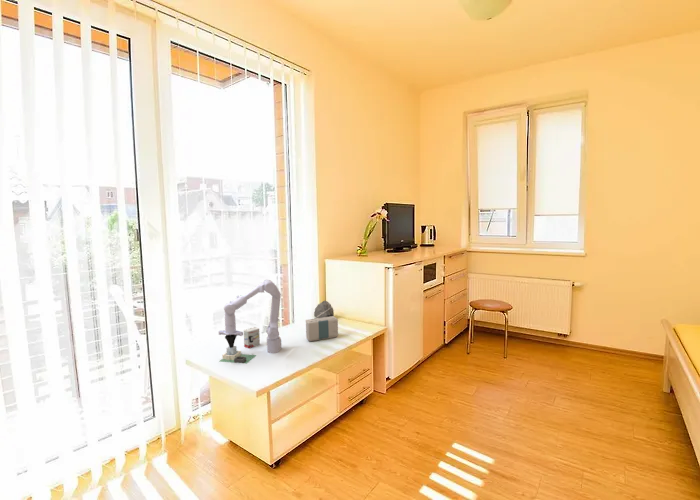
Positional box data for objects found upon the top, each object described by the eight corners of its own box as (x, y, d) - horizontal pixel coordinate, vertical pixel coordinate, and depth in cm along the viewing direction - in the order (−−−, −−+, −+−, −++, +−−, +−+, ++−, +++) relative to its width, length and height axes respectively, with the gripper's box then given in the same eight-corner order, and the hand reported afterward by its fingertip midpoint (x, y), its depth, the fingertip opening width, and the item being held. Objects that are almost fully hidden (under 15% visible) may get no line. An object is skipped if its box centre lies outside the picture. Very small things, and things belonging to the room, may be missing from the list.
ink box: (248, 350, 223) (247, 331, 222) (244, 348, 226) (243, 330, 225) (260, 346, 229) (259, 328, 228) (256, 344, 232) (255, 326, 231)
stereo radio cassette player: (308, 342, 234) (308, 312, 232) (305, 338, 241) (304, 309, 239) (338, 337, 242) (338, 308, 240) (334, 334, 250) (333, 305, 248)
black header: (234, 362, 202) (234, 359, 202) (237, 359, 205) (237, 356, 205) (243, 363, 201) (242, 359, 200) (246, 360, 204) (246, 357, 204)
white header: (229, 354, 214) (229, 350, 214) (241, 354, 212) (241, 350, 212) (222, 359, 206) (221, 355, 206) (234, 360, 204) (233, 356, 204)
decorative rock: (334, 319, 285) (334, 300, 284) (330, 321, 279) (330, 302, 278) (317, 316, 293) (317, 298, 291) (312, 318, 287) (312, 300, 285)
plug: (230, 355, 212) (230, 345, 211) (236, 356, 211) (236, 346, 210) (226, 358, 208) (226, 348, 207) (232, 359, 207) (232, 348, 206)
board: (230, 354, 215) (230, 353, 215) (256, 356, 212) (256, 355, 212) (218, 363, 204) (218, 361, 204) (246, 365, 200) (246, 363, 200)
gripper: (215, 325, 205) (216, 348, 207) (238, 327, 202) (239, 350, 204) (221, 322, 212) (223, 344, 213) (244, 323, 209) (245, 345, 210)
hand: (231, 347), depth 209 cm, fingers closed
